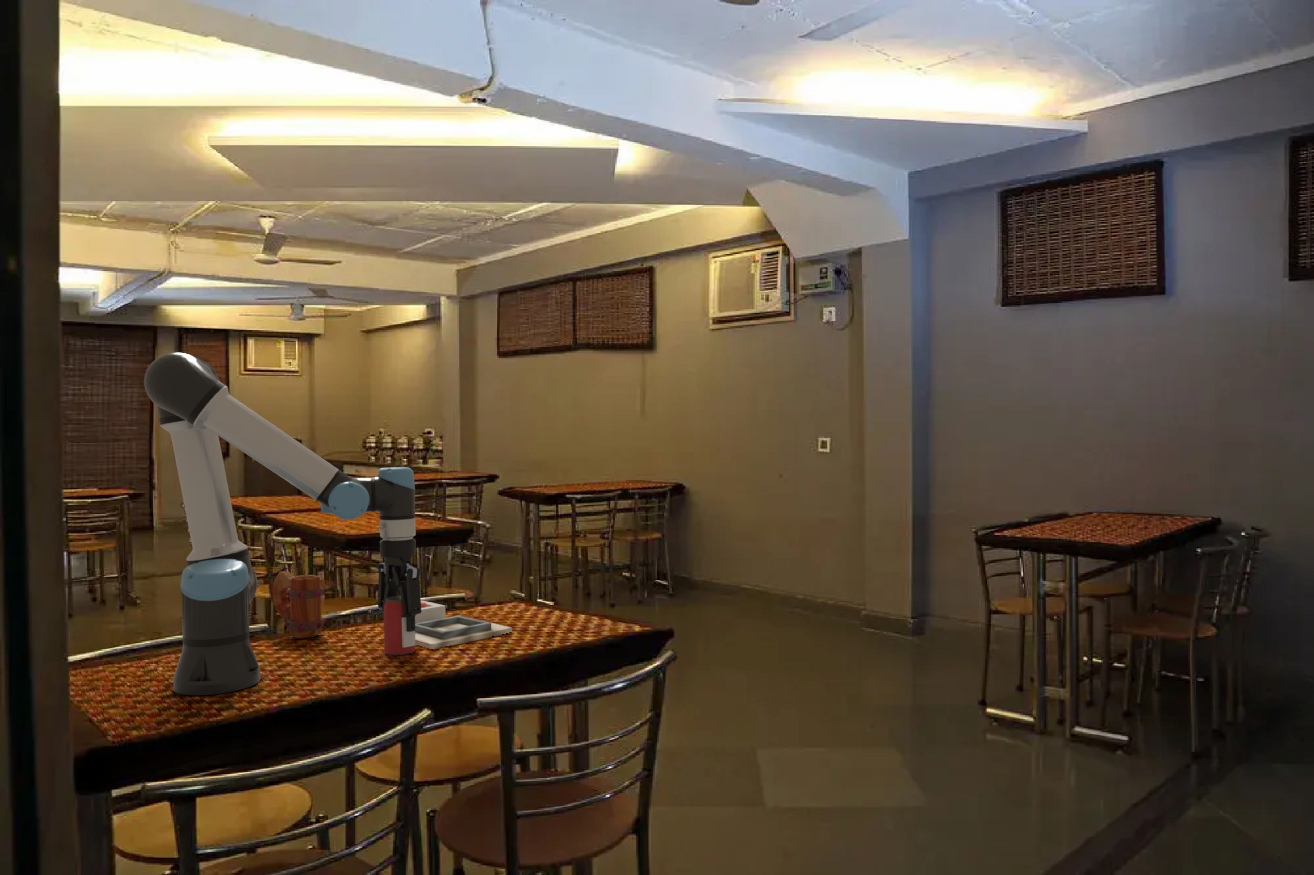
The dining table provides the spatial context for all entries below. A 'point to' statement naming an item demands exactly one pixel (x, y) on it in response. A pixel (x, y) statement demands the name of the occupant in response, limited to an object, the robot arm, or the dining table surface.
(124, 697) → the dining table surface
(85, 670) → the dining table surface
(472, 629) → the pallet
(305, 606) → the mug
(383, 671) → the dining table surface
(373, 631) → the dining table surface
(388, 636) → the beer can
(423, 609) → the button box
